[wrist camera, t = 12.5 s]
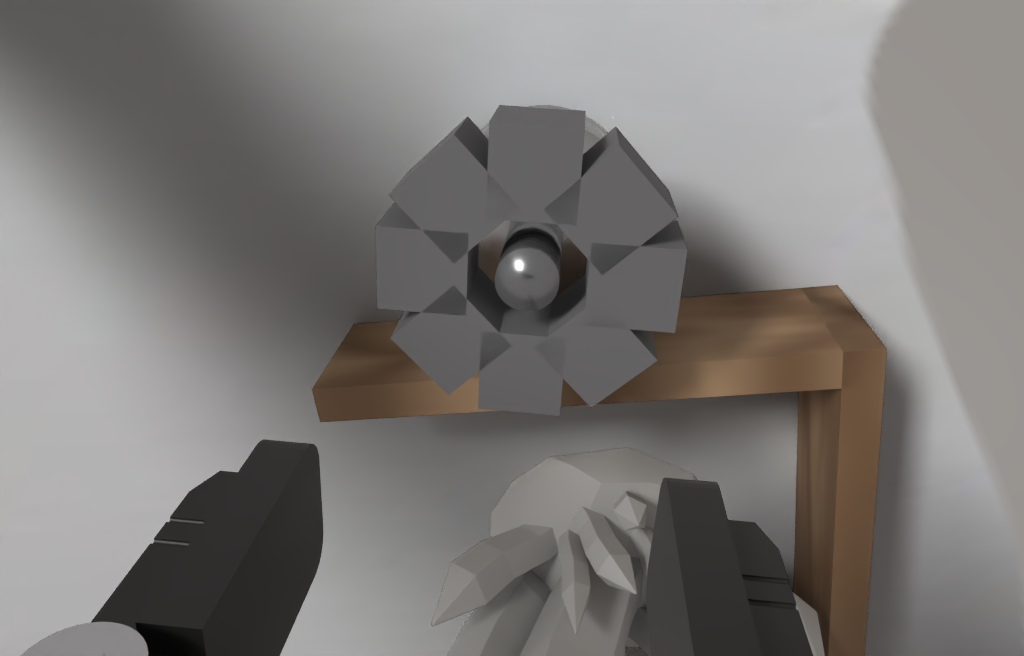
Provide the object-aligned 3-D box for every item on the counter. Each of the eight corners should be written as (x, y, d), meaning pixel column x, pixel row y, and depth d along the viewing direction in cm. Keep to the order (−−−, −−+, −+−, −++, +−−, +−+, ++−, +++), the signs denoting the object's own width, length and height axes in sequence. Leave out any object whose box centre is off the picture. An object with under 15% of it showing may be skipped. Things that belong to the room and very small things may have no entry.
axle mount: (456, 99, 26) (406, 151, 19) (642, 111, 26) (665, 170, 18) (452, 272, 28) (407, 378, 21) (622, 285, 28) (634, 397, 21)
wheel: (395, 98, 21) (373, 114, 19) (691, 118, 20) (704, 136, 18) (397, 360, 24) (378, 400, 22) (654, 381, 23) (661, 424, 21)
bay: (440, 716, 38) (421, 819, 33) (353, 324, 30) (311, 389, 25) (818, 710, 36) (852, 819, 31) (837, 285, 27) (887, 348, 23)
